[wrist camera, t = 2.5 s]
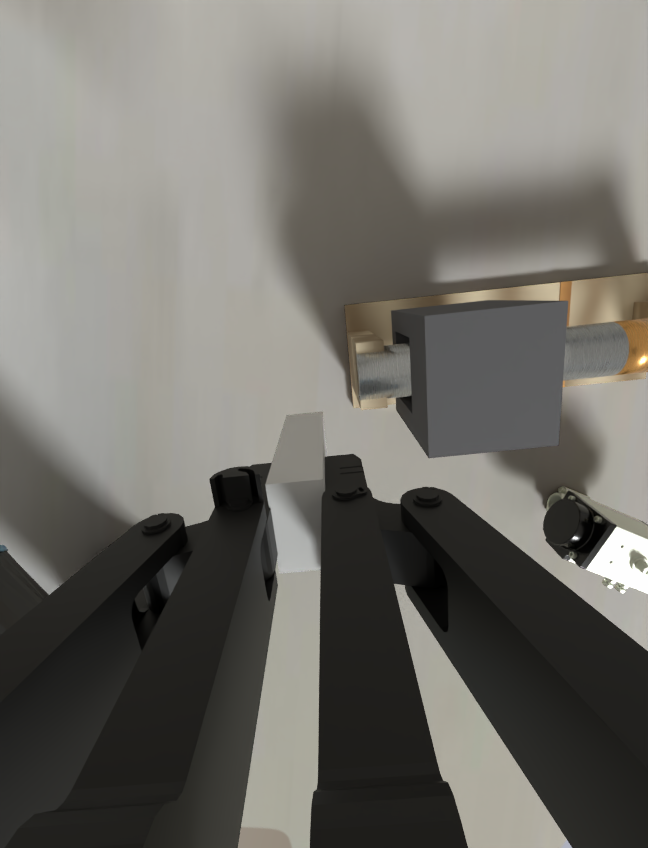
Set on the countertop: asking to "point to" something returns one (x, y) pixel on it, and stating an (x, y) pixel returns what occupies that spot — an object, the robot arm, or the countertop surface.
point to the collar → (483, 374)
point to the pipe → (584, 358)
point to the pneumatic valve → (598, 539)
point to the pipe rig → (584, 298)
